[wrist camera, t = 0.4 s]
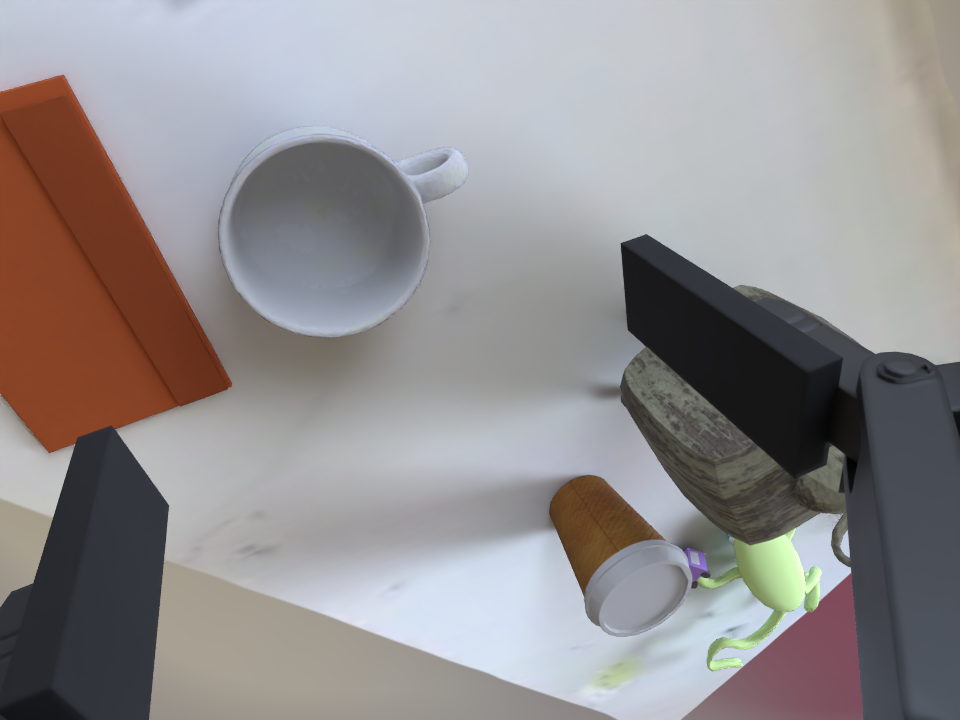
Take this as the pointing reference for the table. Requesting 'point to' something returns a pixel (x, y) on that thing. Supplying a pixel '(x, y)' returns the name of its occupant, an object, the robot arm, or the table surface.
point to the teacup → (330, 229)
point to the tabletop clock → (728, 456)
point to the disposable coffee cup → (618, 558)
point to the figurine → (760, 586)
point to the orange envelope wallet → (84, 283)
